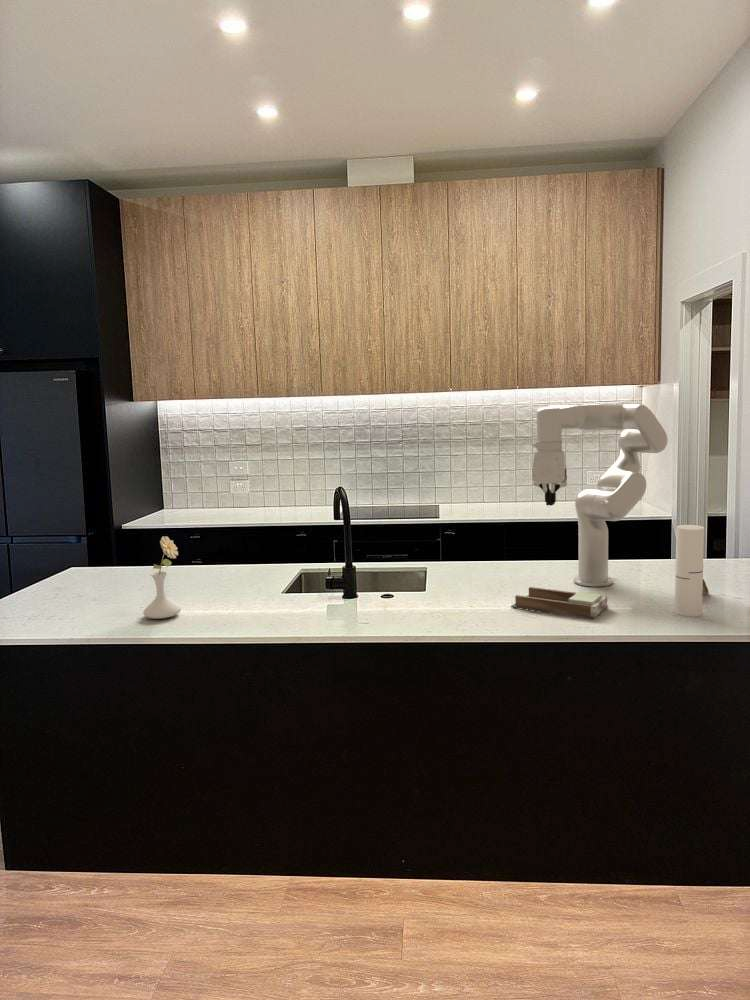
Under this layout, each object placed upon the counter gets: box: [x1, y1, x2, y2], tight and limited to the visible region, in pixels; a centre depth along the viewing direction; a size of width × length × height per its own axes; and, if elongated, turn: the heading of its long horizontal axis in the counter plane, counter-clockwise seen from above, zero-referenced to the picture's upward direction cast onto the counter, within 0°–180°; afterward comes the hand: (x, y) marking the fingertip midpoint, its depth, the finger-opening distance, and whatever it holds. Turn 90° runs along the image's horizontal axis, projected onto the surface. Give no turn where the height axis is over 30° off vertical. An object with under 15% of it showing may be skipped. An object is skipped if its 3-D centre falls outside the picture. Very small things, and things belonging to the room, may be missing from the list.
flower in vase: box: [143, 535, 182, 620], centre depth 223 cm, size 13×11×25 cm
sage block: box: [569, 591, 602, 605], centre depth 211 cm, size 8×7×4 cm
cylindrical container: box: [674, 524, 705, 617], centre depth 204 cm, size 7×7×25 cm
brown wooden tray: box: [510, 586, 608, 621], centre depth 215 cm, size 13×25×4 cm, turn 55°
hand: (550, 504), depth 227 cm, fingers closed
